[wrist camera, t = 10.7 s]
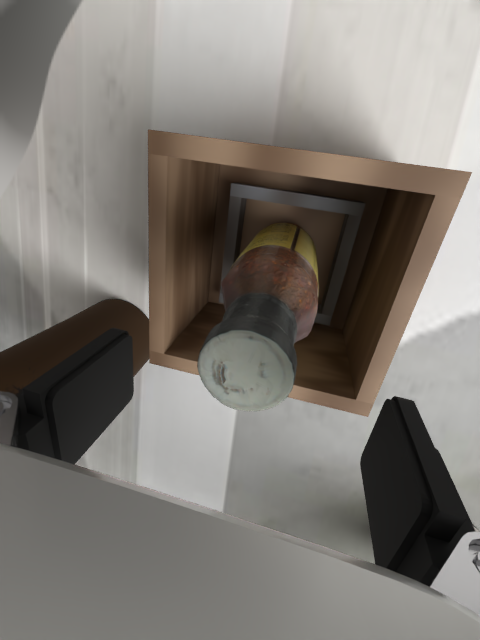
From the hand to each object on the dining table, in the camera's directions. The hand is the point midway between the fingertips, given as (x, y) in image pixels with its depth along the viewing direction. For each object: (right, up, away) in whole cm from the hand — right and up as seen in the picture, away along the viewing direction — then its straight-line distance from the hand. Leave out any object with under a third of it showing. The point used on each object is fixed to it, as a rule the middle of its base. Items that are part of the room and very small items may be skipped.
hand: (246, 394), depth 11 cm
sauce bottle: (+4, +9, +19) cm, 21 cm away
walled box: (+4, +10, +19) cm, 22 cm away
